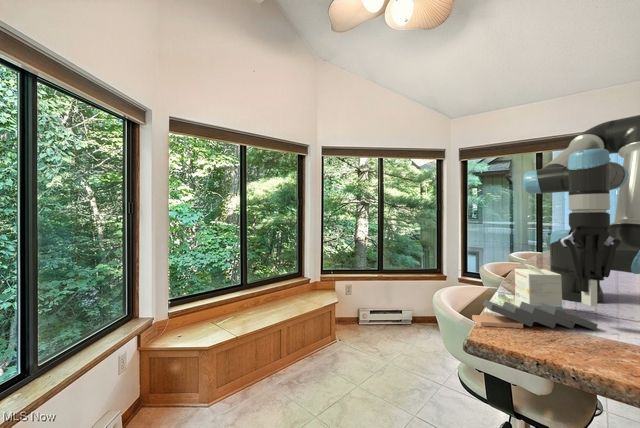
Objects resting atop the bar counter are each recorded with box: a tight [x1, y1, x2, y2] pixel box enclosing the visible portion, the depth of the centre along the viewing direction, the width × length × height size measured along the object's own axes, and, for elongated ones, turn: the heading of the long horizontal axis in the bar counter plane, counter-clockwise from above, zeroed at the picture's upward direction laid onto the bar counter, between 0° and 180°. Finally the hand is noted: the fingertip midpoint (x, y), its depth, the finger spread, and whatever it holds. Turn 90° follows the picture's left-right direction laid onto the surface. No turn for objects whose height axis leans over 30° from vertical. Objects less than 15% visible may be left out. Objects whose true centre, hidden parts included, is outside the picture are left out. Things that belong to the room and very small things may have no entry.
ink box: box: [514, 263, 563, 310], centre depth 81 cm, size 9×8×13 cm
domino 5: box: [540, 303, 599, 331], centre depth 70 cm, size 2×5×10 cm
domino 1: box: [471, 314, 524, 329], centre depth 72 cm, size 2×5×10 cm
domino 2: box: [482, 299, 535, 327], centre depth 72 cm, size 2×5×10 cm
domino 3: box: [502, 300, 557, 329], centre depth 71 cm, size 2×5×10 cm
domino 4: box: [520, 301, 576, 330], centre depth 71 cm, size 2×5×10 cm
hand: (589, 304), depth 70 cm, fingers closed
